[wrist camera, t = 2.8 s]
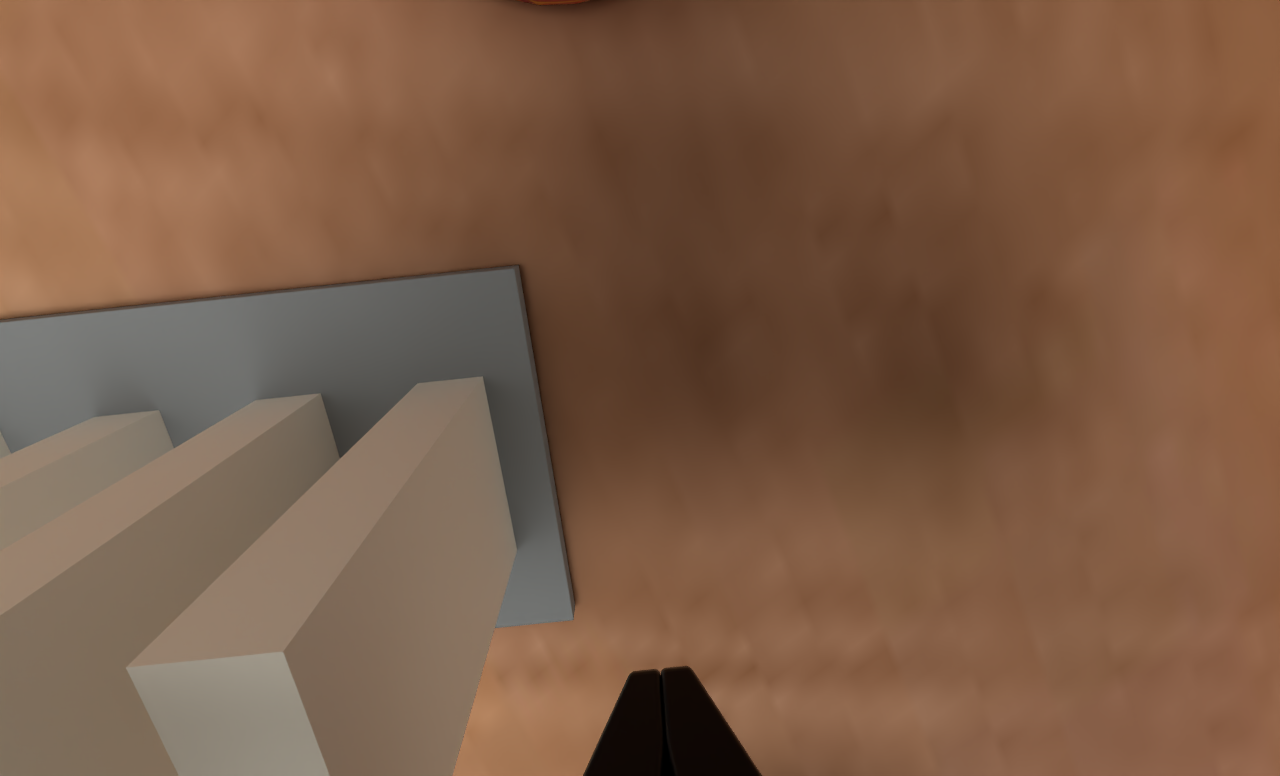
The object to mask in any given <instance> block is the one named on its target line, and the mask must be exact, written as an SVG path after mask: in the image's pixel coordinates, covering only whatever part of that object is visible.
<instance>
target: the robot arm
mask: <svg viewBox="0 0 1280 776" xmlns="http://www.w3.org/2000/svg"><path fill="white" fill-rule="evenodd" d="M583 776H762V775H761V773H760V772H759V770H758V769H757V767H756V766H755V764H754V763H753V761H752V760H751V758H750V757H749V755H748V753H747V752H746V750H745V749H744V747H743V746H742V744H741V743H740V741H739V740H738V738H737V737H736V735H735V734H734V732H733V731H732V729H731V728H730V726H729V725H728V723H727V722H726V720H725V718H724V717H723V715H722V714H721V712H720V711H719V709H718V708H717V706H716V705H715V703H714V702H713V700H712V699H711V697H710V696H709V694H708V693H707V691H706V690H705V688H704V687H703V685H702V683H701V682H700V680H699V679H698V677H697V676H696V674H695V673H694V671H693V670H692V669H691V668H690V667H688V666H681V667H670V668H664V669H663V670H662V671H661V675H660V672H659V671H658V670H657V669H650V670H641V671H633V672H632V673H630V675H629V676H628V678H627V680H626V682H625V685H624V687H623V689H622V691H621V693H620V696H619V698H618V700H617V702H616V704H615V707H614V709H613V711H612V713H611V715H610V717H609V720H608V722H607V724H606V726H605V728H604V731H603V733H602V735H601V737H600V739H599V742H598V744H597V746H596V748H595V750H594V752H593V755H592V757H591V759H590V761H589V763H588V766H587V768H586V770H585V772H584V774H583Z"/></svg>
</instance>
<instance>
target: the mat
mask: <svg viewBox="0 0 1280 776" xmlns="http://www.w3.org/2000/svg"><path fill="white" fill-rule="evenodd" d="M481 376H483V380H484V385H485V390H486V395H487V400H488V405H489V411H490V416H491V421H492V426H493V431H494V436H495V441H496V446H497V451H498V456H499V461H500V466H501V471H502V476H503V481H504V486H505V491H506V496H507V501H508V507H509V512H510V517H511V522H512V527H513V532H514V537H515V542H516V547H517V552H516V556H515V559H514V563H513V566H512V570H511V573H510V577H509V580H508V584H507V587H506V590H505V594H504V597H503V601H502V604H501V608H500V611H499V615H498V618H497V622H496V625H495V628H500V627H510V626H520V625H530V624H539V623H549V622H559V621H569V620H574V611H575V602H574V596H573V590H572V584H571V578H570V572H569V566H568V560H567V554H566V548H565V542H564V536H563V530H562V524H561V518H560V512H559V506H558V500H557V494H556V488H555V482H554V476H553V470H552V464H551V458H550V452H549V446H548V440H547V434H546V428H545V422H544V416H543V410H542V404H541V398H540V392H539V386H538V380H537V374H536V368H535V362H534V356H533V350H532V344H531V338H530V332H529V326H528V320H527V314H526V308H525V301H524V295H523V289H522V283H521V277H520V271H519V265H514V266H504V267H495V268H485V269H476V270H466V271H457V272H447V273H438V274H429V275H419V276H410V277H400V278H391V279H381V280H372V281H362V282H353V283H343V284H334V285H325V286H315V287H306V288H296V289H287V290H277V291H268V292H258V293H249V294H239V295H230V296H221V297H211V298H202V299H192V300H183V301H173V302H164V303H154V304H145V305H135V306H126V307H117V308H107V309H98V310H88V311H79V312H69V313H60V314H50V315H41V316H31V317H22V318H12V319H3V320H0V432H1V434H2V436H3V438H4V440H5V442H6V444H7V446H8V448H9V450H10V452H11V454H12V453H14V452H16V451H19V450H21V449H23V448H25V447H28V446H30V445H32V444H34V443H37V442H39V441H41V440H43V439H46V438H48V437H50V436H53V435H55V434H57V433H59V432H62V431H64V430H66V429H68V428H71V427H73V426H75V425H77V424H80V423H82V422H84V421H87V420H89V419H91V418H93V417H99V416H109V415H118V414H128V413H137V412H147V411H156V410H159V411H160V414H161V417H162V419H163V422H164V424H165V427H166V429H167V432H168V434H169V437H170V439H171V442H172V444H173V447H174V448H176V447H177V446H179V445H181V444H182V443H184V442H186V441H187V440H189V439H191V438H192V437H194V436H196V435H198V434H199V433H201V432H203V431H204V430H206V429H208V428H209V427H211V426H213V425H215V424H216V423H218V422H220V421H221V420H223V419H225V418H226V417H228V416H230V415H231V414H233V413H235V412H237V411H238V410H240V409H242V408H243V407H245V406H247V405H248V404H250V403H252V402H253V401H255V400H261V399H271V398H281V397H290V396H300V395H309V394H319V393H321V396H322V400H323V403H324V406H325V410H326V413H327V417H328V420H329V423H330V427H331V430H332V434H333V437H334V440H335V444H336V447H337V450H338V454H339V457H340V458H341V457H343V456H344V455H345V454H346V453H347V452H348V451H349V450H350V449H351V448H352V447H353V446H354V445H355V444H356V443H357V442H358V441H359V440H360V439H361V438H362V437H363V436H364V435H365V434H366V433H367V432H368V431H369V430H370V429H371V428H372V427H373V426H374V425H375V424H376V423H377V422H378V421H379V420H380V419H382V418H383V417H384V416H385V415H386V414H387V413H388V412H389V411H390V410H391V409H392V408H393V407H394V406H395V405H396V404H397V403H398V402H399V401H400V400H401V399H402V398H403V397H404V396H405V395H406V394H407V393H408V392H409V391H410V390H411V389H412V388H413V387H414V386H415V385H416V384H417V383H424V382H433V381H443V380H453V379H462V378H472V377H481Z"/></svg>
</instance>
